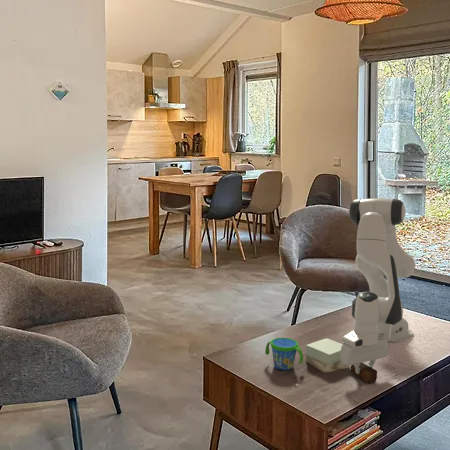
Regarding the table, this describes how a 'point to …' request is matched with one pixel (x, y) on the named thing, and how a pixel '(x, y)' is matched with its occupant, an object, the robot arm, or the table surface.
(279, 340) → the snack cup
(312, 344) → the upper slab
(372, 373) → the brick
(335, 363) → the lower slab
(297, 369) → the table surface
